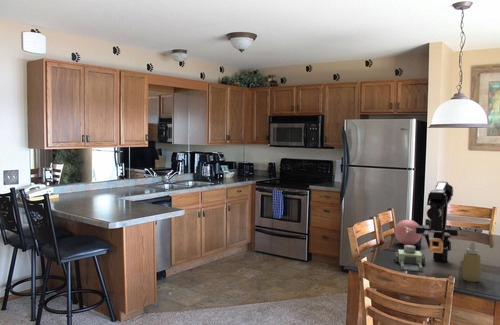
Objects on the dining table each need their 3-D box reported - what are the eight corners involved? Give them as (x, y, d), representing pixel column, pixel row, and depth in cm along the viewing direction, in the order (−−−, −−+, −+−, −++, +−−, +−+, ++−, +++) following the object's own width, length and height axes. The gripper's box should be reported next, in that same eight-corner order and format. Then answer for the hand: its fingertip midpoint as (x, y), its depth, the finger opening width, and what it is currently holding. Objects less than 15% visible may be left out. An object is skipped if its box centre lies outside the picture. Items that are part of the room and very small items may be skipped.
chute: (440, 248, 212) (440, 238, 211) (442, 253, 203) (443, 242, 203) (428, 247, 213) (428, 237, 213) (430, 252, 205) (430, 241, 204)
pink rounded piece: (391, 247, 251) (392, 222, 250) (396, 240, 269) (396, 216, 268) (419, 251, 244) (420, 224, 243) (422, 243, 262) (423, 218, 261)
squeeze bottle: (474, 277, 198) (476, 239, 197) (484, 283, 190) (486, 243, 189) (457, 277, 198) (459, 239, 197) (467, 283, 190) (468, 243, 189)
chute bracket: (420, 265, 216) (420, 261, 216) (422, 271, 206) (422, 267, 206) (400, 263, 219) (400, 259, 219) (401, 269, 208) (401, 265, 208)
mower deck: (423, 260, 225) (423, 245, 224) (424, 265, 216) (425, 250, 215) (394, 258, 229) (395, 243, 228) (395, 263, 220) (395, 247, 219)
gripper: (454, 215, 212) (453, 245, 213) (414, 212, 218) (413, 242, 218) (458, 219, 201) (457, 251, 202) (416, 216, 207) (415, 248, 208)
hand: (435, 248), depth 208 cm, fingers closed on chute, 6 cm apart
